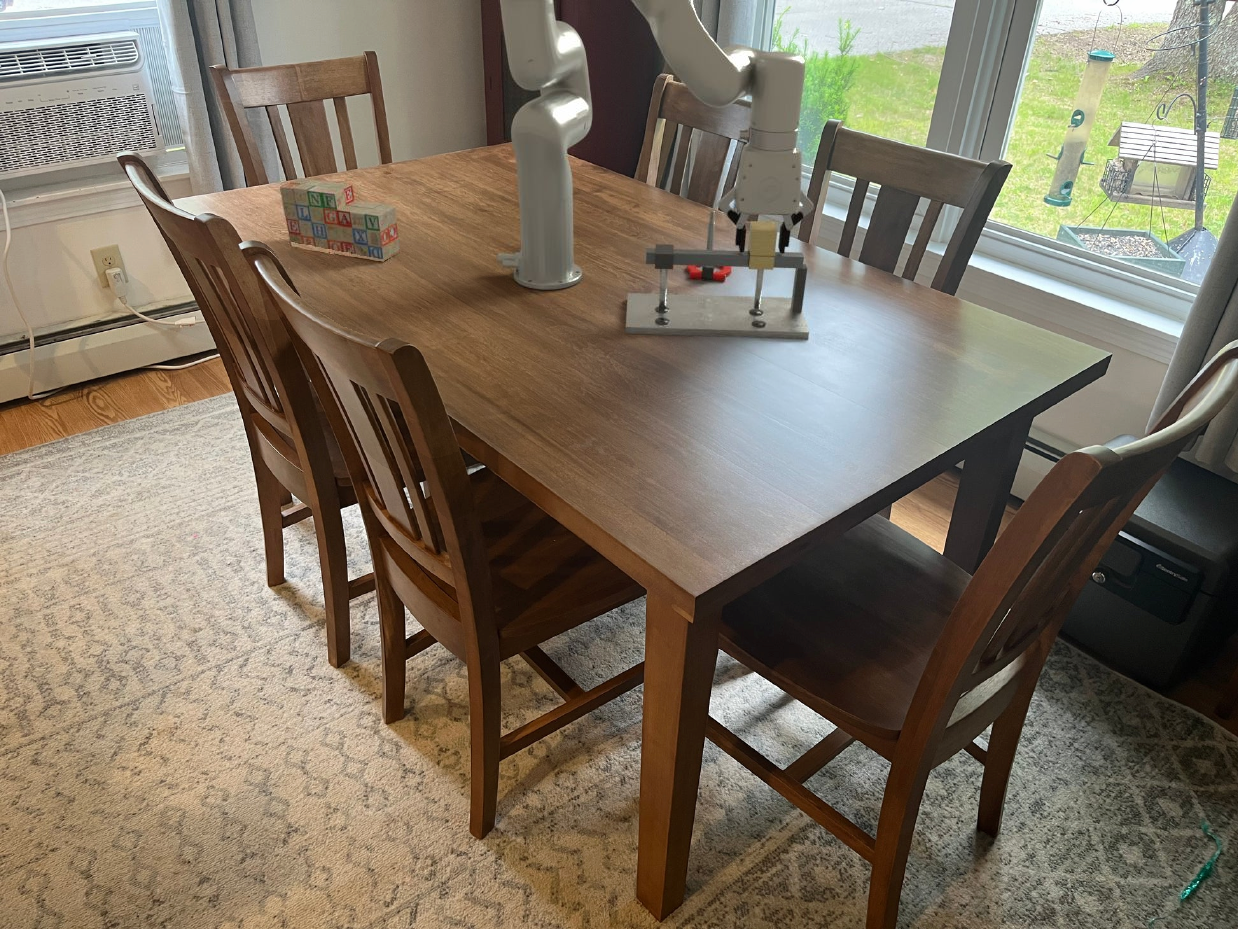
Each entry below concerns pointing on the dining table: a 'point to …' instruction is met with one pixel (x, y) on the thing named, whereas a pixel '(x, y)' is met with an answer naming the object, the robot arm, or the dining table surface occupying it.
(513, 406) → the dining table surface
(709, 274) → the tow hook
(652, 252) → the beam
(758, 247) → the carriage
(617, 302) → the dining table surface
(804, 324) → the hole plate
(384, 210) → the stack of blocks
